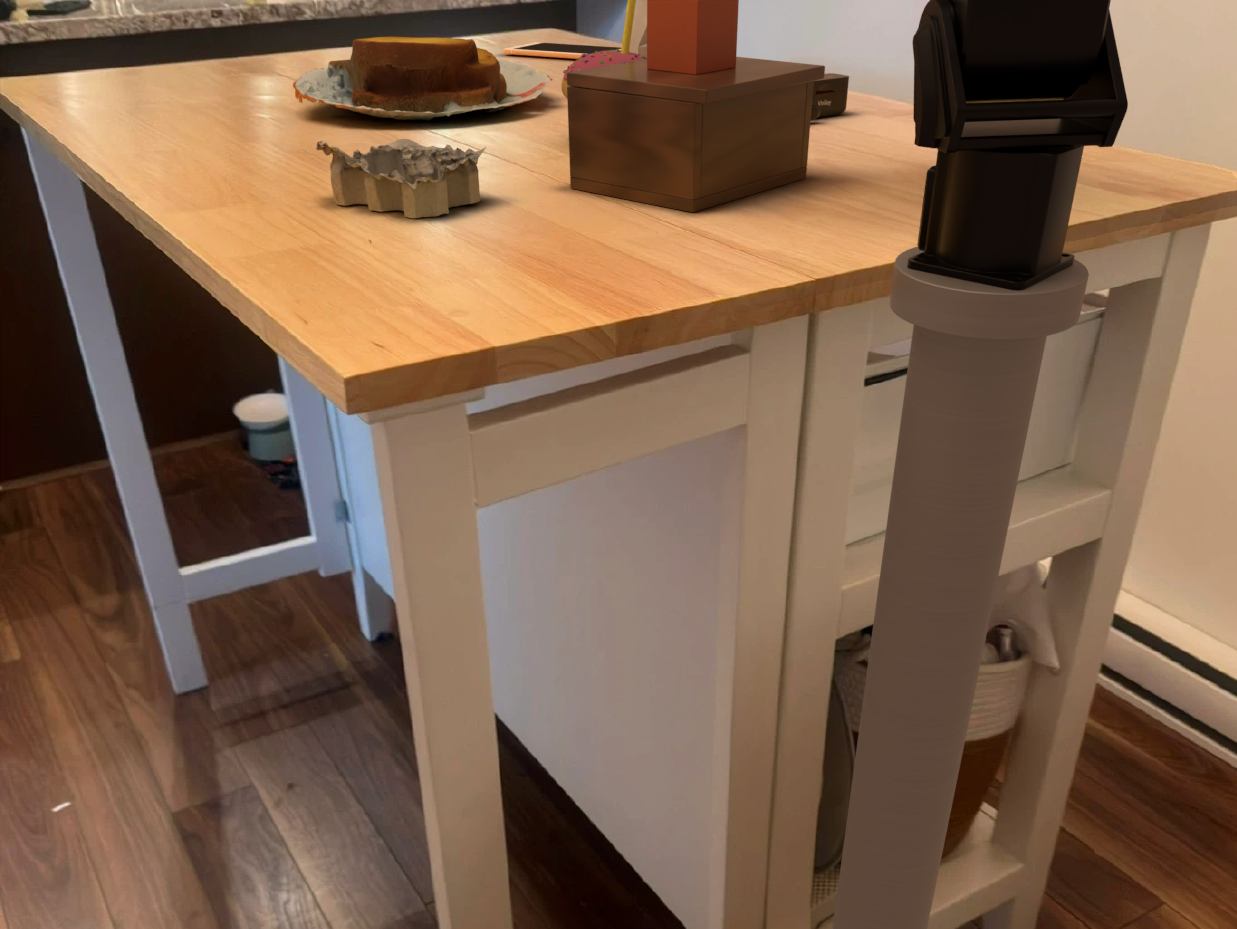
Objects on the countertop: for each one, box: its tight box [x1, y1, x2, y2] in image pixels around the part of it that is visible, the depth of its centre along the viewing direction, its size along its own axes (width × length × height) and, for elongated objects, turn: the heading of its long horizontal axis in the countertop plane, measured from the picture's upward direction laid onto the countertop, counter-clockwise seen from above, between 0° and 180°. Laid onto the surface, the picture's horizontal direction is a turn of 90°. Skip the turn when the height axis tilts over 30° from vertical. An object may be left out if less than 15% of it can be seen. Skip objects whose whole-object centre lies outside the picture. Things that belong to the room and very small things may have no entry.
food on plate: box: [292, 36, 556, 122], centre depth 113 cm, size 25×25×7 cm
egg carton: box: [316, 138, 487, 219], centre depth 80 cm, size 11×8×4 cm
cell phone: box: [503, 41, 622, 60], centre depth 145 cm, size 8×16×1 cm, turn 59°
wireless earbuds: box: [810, 72, 850, 121], centre depth 106 cm, size 5×7×3 cm, turn 123°
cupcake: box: [561, 0, 647, 99], centre depth 95 cm, size 9×8×12 cm
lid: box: [567, 56, 826, 104], centre depth 81 cm, size 12×14×1 cm
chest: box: [566, 81, 813, 213], centre depth 83 cm, size 12×14×7 cm
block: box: [647, 0, 740, 75], centre depth 79 cm, size 4×4×4 cm
